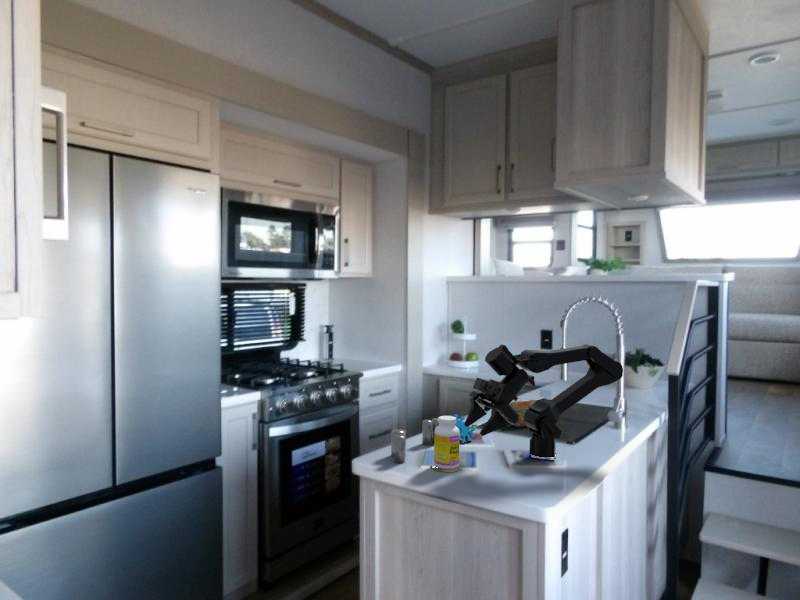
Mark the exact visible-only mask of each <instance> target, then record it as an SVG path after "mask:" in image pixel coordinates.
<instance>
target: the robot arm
mask: <svg viewBox="0 0 800 600" xmlns="http://www.w3.org/2000/svg"><path fill="white" fill-rule="evenodd" d="M484 358H485V359H484V361H485V363H486V364H487V365H488V366H489V367H490V368H491V369H492V370H493V371H494V372H495V373H496V375H497V376H499V377H502V376H503V378H502V379H501V380H500V381H497V380H495V379H492V378H491V379H489V380H485V379H483V378H481V377H476V379H475V381H474V383H473V385H472V389H474V390H472V391H471V393H469V395H468V397H469V401H470V409H469V412H468V414H467V417H466V419H465V420H464V422H465V423H464V425H465V426H466V427H468V426H469V427H471V425H473V424H474V423H476V422H478V421H479V420H480V419H481V418H483V417H485V416H486V415H488V413H487V412H490V410H491V413H490V417H489V419H487V421H486V423H485V424H484V425H483V427H482V428H481V430H480V431H479V435H480V436H482V437H483V436H484V437H485V436H487V435H488V434H490V433H492V432H495V431H498V430H500V429H502V428H505V427H510V426H514V425H515V424H516V422H517V421H518V420H519V415H518V414H517V412H516V411H515V410H514V409H513V408H512V407H511V406H510V405H509V404H510V403H512V402H515V401H518V399H519V398H518V395H519V394H520V392H521V391H522V390H523V389H524V387H525V386H526V385H529V386H531V387H535V386H536V381H535V376H534V375H531V374H529V373H528V372H531V373H533V374H534V373H535V374H540V373H543V372H546V371H548V370H550V369H551V368H553V367H555V366H559V365H564V364H570V363H576V362H583V361H585V362H586V364H587V366H588V370H587V371H586V372H587V373H585V375H584V376H582V377H581V378H579V379H578V380H577V381H576V382H574V383H573V384H571V385H569V387H567V388H565V389H564V390H563V391H561V392H560V393H558V394H557V395H556V396H555V397H553V398H551V400H549V401H544V400H541V399H536V400H537V401H536V402H535V403H534V404H533V405H531V406H528V408H529V409H527V410H526V411H525V413H524V422H525V424H526V426H525V427H527V428H528V431H529V433H532V435H531V438H530V439H529V455H531V454H532V455H535V456H539V457H555V454H556V455H557V452H556V450H557V449H556V447H557V446H556V443H557V440H556V439H560V438H561V434H562V430H561V429H560V428H559V426H557V424H558V422H559V419H560V418H561V415H562V414H564V413H565V412H566V411H568V410H569V409H571V407H573V406H575V405H576V404H578V403H579V402H580V401H582V400H583V399H585V398H586V397H587V396H588V395H590V394H591V393H593V392H594V391H595V390H597V389H598V388H601V387H606V386H609V385H612V384H614V383H615V382H618V381H620V380H621V378H623V374H624V367H623V365H622V363H620V362H619V361H618V360H614V359H613V358H611V357H610V356H609V355H607V354H605V352H603V351H602V350H600V348H598V347H597V346H596V345H593V344H582V345H579V346H573V347H566V348H561V349H558V348H557V349H552V350H539V349H525V350H522V351H521V353H519V354H515V355H514V354H513V353H512V352H511V351H510V350H509V348H508V346H507V345H505V344H500V345H499V346H497V347H495V348H493V349H492V350H490V351H489V352H488V353H487V354H486V356H485V357H484ZM518 366H519V367H520V368H519V367H518ZM526 371H528V372H526ZM510 423H511V424H510ZM512 424H513V425H512ZM555 458H556V457H555Z"/></svg>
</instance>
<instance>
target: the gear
mask: <svg viewBox="0 0 800 600" xmlns="http://www.w3.org/2000/svg"><path fill="white" fill-rule="evenodd" d="M449 416H453V417H456V424H455V426H456V427H457V428H458V429H459V431H460V438H461V440H460V443H461V442H466V443H467V441H471V442H472V439H473V438H474V437H475V433H474V432H475V431H476V430H477V425H473V426H468V427H466V426H465V425H464V423H465V420H466V419H465V418H466V417H465V416H464V415H461V416H460V417H459V414H457V413H454V414H453V415H452V414H451V415H449ZM458 417H459V419H457V418H458Z"/></svg>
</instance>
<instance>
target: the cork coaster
mask: <svg viewBox="0 0 800 600" xmlns="http://www.w3.org/2000/svg"><path fill="white" fill-rule="evenodd" d="M431 470H433V471H435V472H439V473H456V472H459V471H461V470H462V465H461V464H460V466H458V467H456V468H454V469H441V468H436V467H435V468H431Z"/></svg>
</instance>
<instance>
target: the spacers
mask: <svg viewBox="0 0 800 600" xmlns="http://www.w3.org/2000/svg"><path fill="white" fill-rule="evenodd" d="M438 419H439V417H434V418H432V419H423V420H422V421H421V422H422V423H421V424H422V428H421V429H422V430H421V432H422V433H421V435H422V436H421V437H422V439H421V444H422V445H423V446H432V445H433V444H434V434H435V428H436V427H437V426H439V422H438ZM390 432H391V438H390V439H391V444H390V445H391V447H390V457H392V458H393V463H395V464H404V463H405V461H406V447H407V446H406V444H407V443H406V439H407V437H406V435H407V433H406V432H407V431H406V430H405V429H401V428H397V429H391V431H390Z"/></svg>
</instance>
